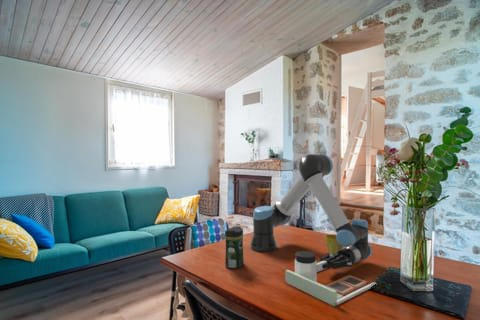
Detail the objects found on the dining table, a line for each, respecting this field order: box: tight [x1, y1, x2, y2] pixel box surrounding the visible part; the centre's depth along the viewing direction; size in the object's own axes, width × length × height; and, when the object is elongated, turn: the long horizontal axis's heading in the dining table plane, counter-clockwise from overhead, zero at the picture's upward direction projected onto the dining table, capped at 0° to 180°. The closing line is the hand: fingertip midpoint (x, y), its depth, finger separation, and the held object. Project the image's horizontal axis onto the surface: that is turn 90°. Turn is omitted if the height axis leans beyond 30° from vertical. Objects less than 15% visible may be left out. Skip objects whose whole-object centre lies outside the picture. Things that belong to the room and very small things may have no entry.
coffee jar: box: [224, 225, 245, 270], centre depth 138 cm, size 10×8×19 cm
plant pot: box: [324, 233, 344, 255], centre depth 153 cm, size 10×10×10 cm
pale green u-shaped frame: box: [284, 268, 377, 307], centre depth 117 cm, size 28×24×5 cm
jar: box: [294, 250, 318, 283], centre depth 119 cm, size 9×8×12 cm
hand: (315, 267), depth 119 cm, fingers closed
